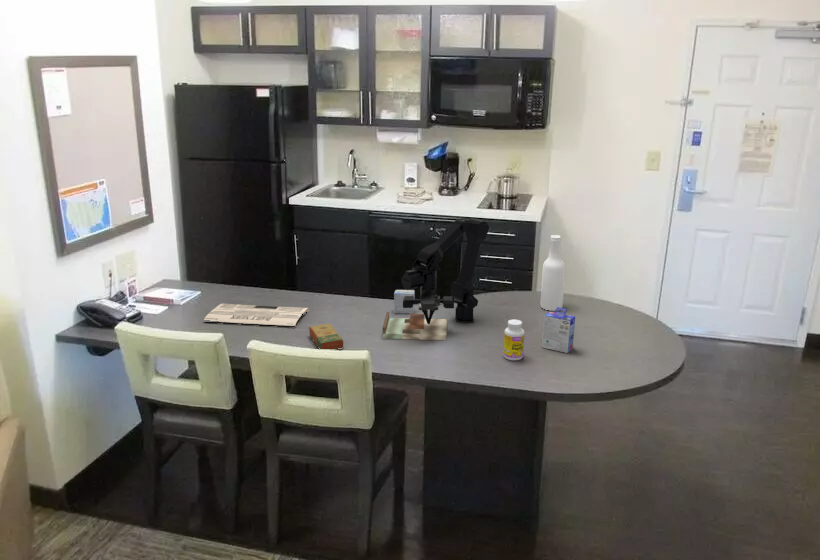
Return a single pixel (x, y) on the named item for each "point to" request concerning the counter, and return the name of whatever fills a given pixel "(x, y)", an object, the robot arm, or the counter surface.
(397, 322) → the trap board
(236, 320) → the newspaper
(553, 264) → the alcohol
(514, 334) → the supplement bottle
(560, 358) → the counter surface
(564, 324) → the ink cartridge box
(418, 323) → the block
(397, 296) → the medicine box
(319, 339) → the carton
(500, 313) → the counter surface
